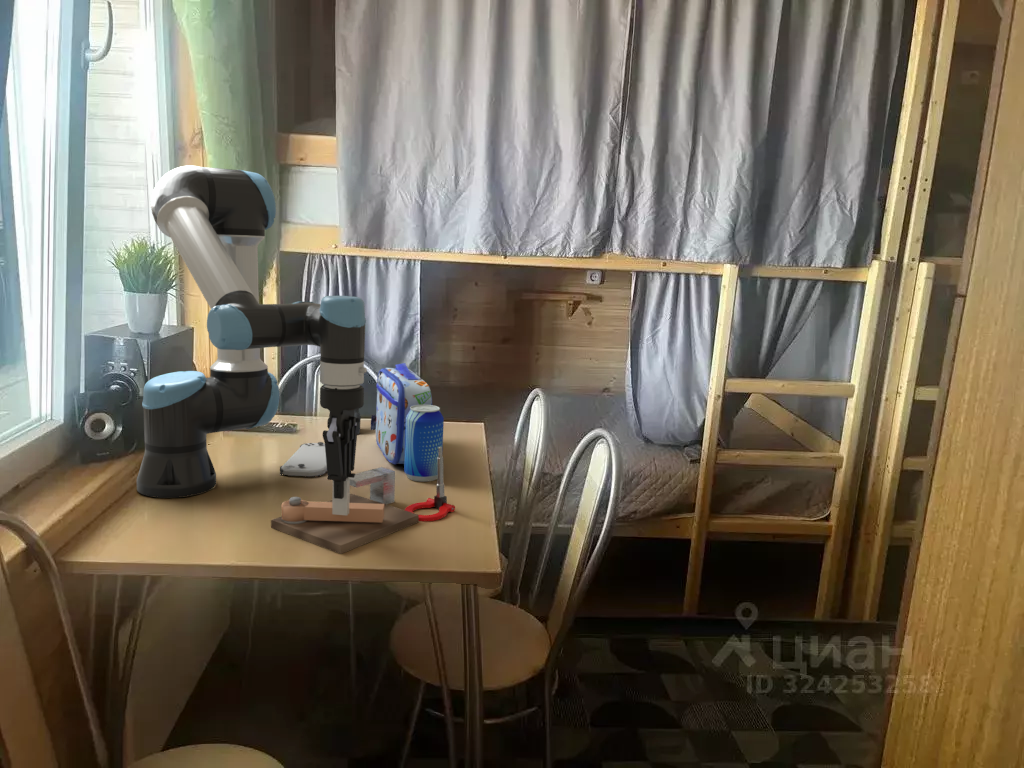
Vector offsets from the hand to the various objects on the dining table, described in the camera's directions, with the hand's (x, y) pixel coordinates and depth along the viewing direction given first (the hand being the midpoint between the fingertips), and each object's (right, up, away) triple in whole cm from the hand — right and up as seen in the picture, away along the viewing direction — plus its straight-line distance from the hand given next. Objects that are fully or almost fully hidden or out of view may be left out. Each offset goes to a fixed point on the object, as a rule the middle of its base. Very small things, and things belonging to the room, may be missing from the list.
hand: (340, 513), depth 142 cm
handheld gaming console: (-16, +4, +42) cm, 45 cm away
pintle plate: (0, -3, +5) cm, 6 cm away
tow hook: (+14, -2, +13) cm, 20 cm away
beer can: (+11, +2, +36) cm, 37 cm away
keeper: (+2, -1, +16) cm, 16 cm away
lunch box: (+3, +6, +52) cm, 52 cm away
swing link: (-2, -1, +3) cm, 3 cm away
